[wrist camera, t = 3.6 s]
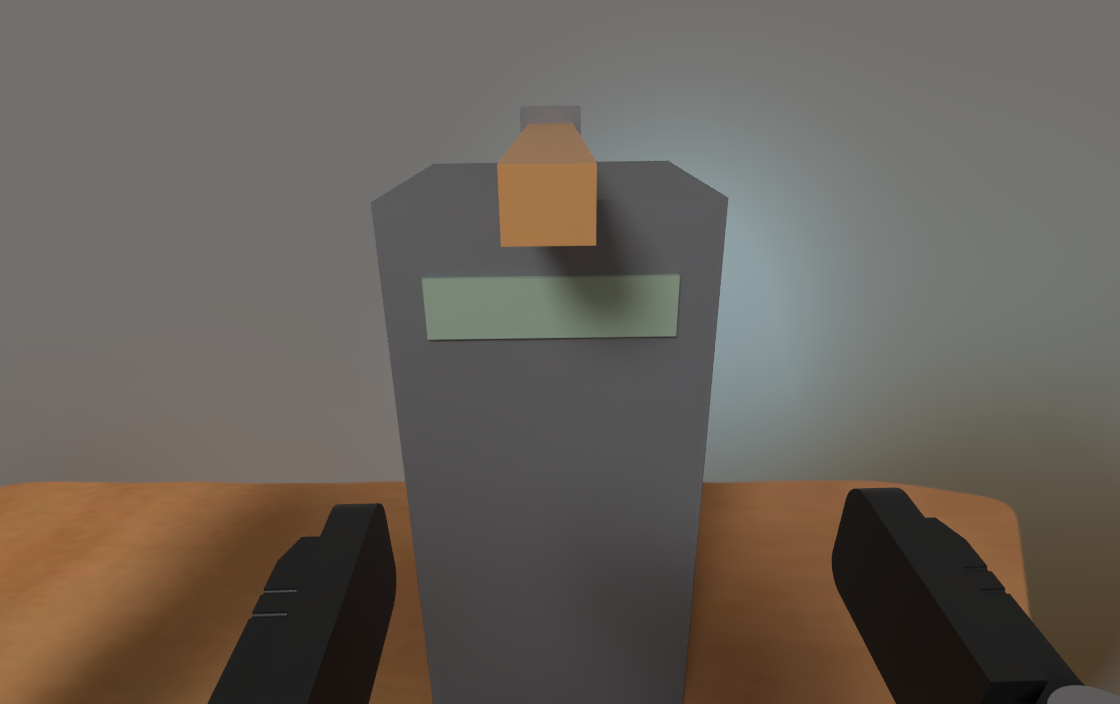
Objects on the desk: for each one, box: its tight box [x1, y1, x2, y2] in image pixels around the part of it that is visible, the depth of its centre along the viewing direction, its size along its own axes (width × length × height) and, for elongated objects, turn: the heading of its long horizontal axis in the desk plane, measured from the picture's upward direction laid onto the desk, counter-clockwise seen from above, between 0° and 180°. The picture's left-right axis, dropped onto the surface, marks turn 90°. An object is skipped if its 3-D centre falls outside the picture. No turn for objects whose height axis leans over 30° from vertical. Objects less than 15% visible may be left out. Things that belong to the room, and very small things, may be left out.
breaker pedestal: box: [371, 161, 728, 704], centre depth 42 cm, size 16×16×32 cm
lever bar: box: [497, 106, 597, 247], centre depth 33 cm, size 29×4×4 cm, turn 1°
